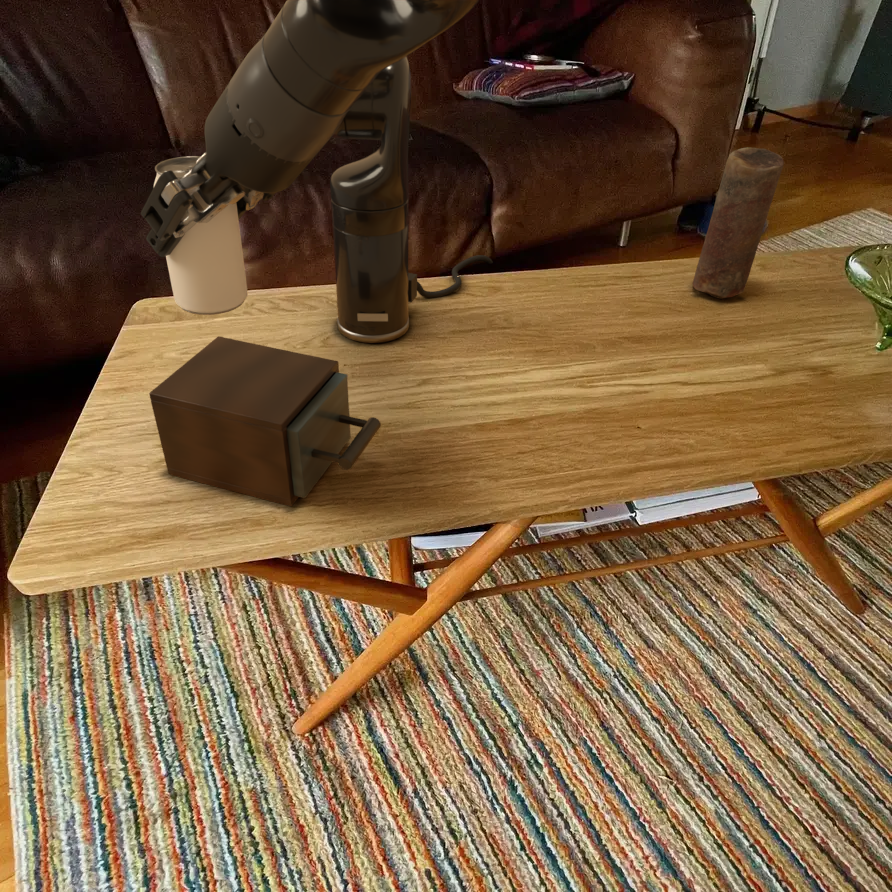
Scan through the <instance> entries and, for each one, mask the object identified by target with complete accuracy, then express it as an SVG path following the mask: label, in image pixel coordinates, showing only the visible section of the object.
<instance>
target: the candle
mask: <svg viewBox="0 0 892 892" xmlns="http://www.w3.org/2000/svg"><path fill="white" fill-rule="evenodd" d="M784 164H785V161H784V158H783V157H782V156H781V155H780V154H778V153H776V152H774V151H771V150H769V149H766V148H757V147H750V146H747V147H743V148H742V147H741V148H739V149H736V150H733V151H731V152H730V153H729V154H728V158H727V159H726V162H725V165H724V169H723V173H722V176H721V180H720V183H719V188H718V192H717V195H716V198H715V202H714V206H713V209H712V213H711V215H710V216H711V217H710V220H709V224H708V228H707V231H706V235H705V239H704V242H703V245H702V248H701V252H700V255H699V258H698V262H697V266H696V270H695V272H694V276H693V281H692V288H693V289H695V290H696V291H699V292H703V293H705V294H707V295H710V296H711V297H712V298H716V299H726V298H733V297H735V296H737V295H740V294H742V293H744V291H745V288H746V286H747V282H748V280H749V277H750V273H751V270H752V266H753V264H754V260H755V257H756V254H757V251H758V247H759V244H760V241H761V238H762V234H763V231H764V228H765V225H766V221H767V218H768V214H769V212H770V209H771V205H772V203H773V199H774V196H775V193H776V189H777V186H778V183H779V180H780V177H781V174H782V171H783V169H784Z"/></svg>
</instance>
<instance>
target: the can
mask: <svg viewBox="0 0 892 892" xmlns="http://www.w3.org/2000/svg"><path fill="white" fill-rule="evenodd" d="M201 156H202V155H201ZM201 156H200V155H199V156H198V155H191V156H190V155H188V156H180V157H173V158H169V159H165V160H162V161H160V162H159V163H157V164H156V165H155V166H154V170H155V172H156V176H155V179H154V182H153V187H154V186H155V184H156V182H157V180H158V178H159V177H160V176H161V175H162V174H163V173H164V172H167V171H170V170H171V171H173V173H174V174H175V175H176V177H177V178H178V179H180V178H183V177H184V176H185V175H186V174H187V173H188V172H189V171H190V170H192V168H193V167H194V165H195V164H196V161H197V160H198V159H199V158H200V157H201ZM193 195H194V197H195V198H196V200H197V201H198V202H199V204H200V205H201V206H202V208H203V209H204V210H205V209H207V208H208V207H209V206H210V205H208V204H206V203H205V202H204V200H203V199H202V197H201V196H200V195H199V193H198V192H197V191H196V192H194V193H193ZM188 215H189V213H188V211H186V213H185V214H184V216H183V218H182V219H181V220H182V221H183V220H185V219H186V218H187V217H188ZM243 251H244V250H243V242H242V236H241V229H240V219H238V212H237V204H236V203H235V204H229V205H228V206H226V207H225V208H224V209H223V210H222V211H221V212H219V213H218V214H217V215H216V216H215V217H214V218H212V219H211V220H210V221H209V222H207V223H196V224H195V225H194V226H193V227H192V228H191V229H189V230H188V231H187V232H186V233H185V235H184V236H183V237H182V239H181V240H180V242H179V243H178V244H177V246H176V247H175V248H174V250H173V251H172V252H171V254H170V255H167V256H165V259H166V264H167V269H168V275H169V280H170V285H171V290H172V295H173V299H174V302H175V304H176V305H177V306H178V307H179V308H180V309H182V310H183V311H185V312H187V313H190V314H195V315H200V316H212V315H219V314H220V315H221V314H225V313H228V312H232V311H234V310H236V309H238V308H239V307H241V306H242V305H243V304H244V302H245V301H246V299H247V298H248V284H247V283H248V282H247V275H246V269H245V268H246V267H245V259H244V252H243Z"/></svg>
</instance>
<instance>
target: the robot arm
mask: <svg viewBox="0 0 892 892" xmlns="http://www.w3.org/2000/svg"><path fill="white" fill-rule="evenodd" d="M479 2H480V0H286V1H285V3H284V4H283V6H282V7H281V9H280V11H279V12H278V14H277V15H276V16H275V18H274V20H273V21H272V23H271V24H270V26H269V28H268V29H267V31H266V32H265V34H264V35H263V36H262V37H261V38H260V39H259V41H258V42H257V43H256V44H255V45H254V46H253V47H252V48H251V49H250V50H249V52H248V53H247V54H246V56H245V57H244V59H243V60H242V61H241V62H240V65H239V66H238V68H237V70H236V71H235V72H234V74H233V76H232V77H231V78H230V81H229V82H228V83H227V85H226V87H225V89H224V90H223V91H222V93H221V95H220V96H219V98H218V99H217V100H216V102H215V104H213V105H214V106H213V107H212V108H211V110H210V112H209V113H208V115H207V117H206V119H205V123H204V140H205V152H204V153H203V154H202V155H201V157H200V158H199V159H198V160H197V161H196V164H195V165H194V167H193V168H192V170H190V171H189V172H188V173H187V174H186V175H185V176H184V177H183V178H180V179H178V178H177V177H176V175H175V174H174V173H173V171H171V170H170V171H167V172H164V173H163V174H162V175H161V176H160V177H159V178H158V180H157V182H156V184H155V186H154V185H153V188H152V189H151V192H150V194H149V196H148V198H147V200H146V202H145V204H144V205H143V207H142V210H141V211H140V216H142V219H144V220H145V221H146V222H147V224H148V225H149V227H150V230H149V231H148V233H147V235H146V239H145V240H146V242H147V243H148V244H149V245H150V247H151V249H152V250H154V252H155V254H157V255H158V256H159V257H160V258H166V256H167V255H170V254H171V252H172V251H173V250H174V248H175V247H176V246H177V244H178V243H179V242H180V240H181V239H182V237H183V236H184V235H185V233H186V232H187V231H188V230H189V229H191V228H192V227H193V226H194V225H195V224H196V223H207V222H209V221H210V220H211V219H212V218H214V217H215V216H216V215H217V214H218V213H219V212H221V211H222V210H223V209H224V208H225V207H226V206H228V205H229V204H235V203H236V204H237V212H238V219H239V220H240V219H241V218H242V216H243V215H244V214H245V213H246V211H249V210H252V209H254V208H255V207H256V206H257V205H258V202H259V201H261V200H263V201H265V202H266V201H269V200H271V199H272V198H274V196H275V195H276V193H280V192H283V191H285V190H286V189H288V188H289V187H291V185H293V183H294V182H295V181H296V180H297V178H298V177H299V176H300V175H301V174H302V172H303V171H305V169H306V168H307V166H308V165H309V164H310V163H311V162H312V161H313V159H314V158H315V157H316V156H317V155H318V154H319V153H320V151H321V150H322V149H323V148H324V146H326V144H327V143H328V142H329V141H330V139H331V138H334V139H340V140H341V139H343V140H366V141H367V140H368V141H380V144H381V145H380V147H378V149H377V150H375V151H374V152H372V153H371V154H370V155H368V156H366V157H363V158H361V159H359V160H356V161H352V162H349V163H346V164H344V165H342V166H340V167H338V168H337V169H336V170H334V171H333V172H332V174H331V176H330V180H329V188H330V189H329V190H330V205H331V207H330V208H331V222H332V238H333V239H332V240H333V254H334V270H335V271H334V272H335V273H334V274H335V289H336V306H337V330H338V332H340V334H341V335H342V336H344V337H345V338H347V339H349V340H352V341H354V342H355V341H356V342H360V343H368V344H377V343H378V344H379V343H385V342H386V343H387V342H390V341H395V340H396V339H398V338H401V337H402V336H404V335H405V334H406V333H407V332H408V330H409V327H410V317H409V303H413V301H414V300H415V299H416V298H417V297H418V294H419V295H420V296H421V297H423V298H428V299H429V298H430V299H434V298H440V297H445V296H448V295H450V294H453V293H454V292H456V291H457V290H459V289H460V288H461V286H462V279H461V276H460V275H459V273H458V272H459V271H461V270H462V269H463V268H465V267H467V266H468V265H470V264H473V263H476V262H484V263H486V264H487V265H491V264H493V263H494V262H493V260H492V258H490V257H489V256H487V255H484V254H477V255H473V256H470V257H468V258H466V259H464V260H462V261H461V262H458V263H457V264H456V265H455V266H454V267H453V268H452V269H451V276H452V278H453V280H454V284H452V285H450V286H448V287H446V288H444V289H441V290H435V291H429V290H425V289H424V287H423V286H422V284H421V282H419V281H418V274H417V273H412V272H411V273H410V272H409V142H410V141H409V139H410V122H411V121H410V120H411V106H412V105H411V103H412V76H411V75H412V74H411V73H412V72H411V68H410V67H411V66H410V63H409V60H408V56H409V55H411V54H412V53H414V52H415V51H417V50H418V49H420V48H421V47H423V46H424V45H426V44H428V43H429V42H430V41H432V40H433V39H435V38H437V37H438V36H439V35H440V36H441V34H443V33H444V32H446V31H447V30H448V29H450V28H451V27H453V26H454V25H455V24H457V23H458V22H459V21H461V20H462V19H463V18H464V17H466V15H467V14H469V13H470V12H471V11H472V10H473V9H474V7H476V5H477V4H478V3H479ZM196 191H197V192H198V193H199V195H200V196H201V197H202V199H203V200H204V202H205V203H206V204H208V205H210V206H209V207H208V208H207V209H205V210H204V209H203V208H202V206H201V205H200V204H199V202H198V201H197V200H196V198H195V197H194V195H193V193H194V192H196ZM186 211H188V213H189V215H188V217H187V218H186V219H185V220H183V221H182V220H181V219H182V218H183V216H184V214H185V213H186ZM457 276H459V277H457Z"/></svg>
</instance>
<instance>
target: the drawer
mask: <svg viewBox="0 0 892 892" xmlns="http://www.w3.org/2000/svg"><path fill="white" fill-rule="evenodd" d="M348 384H349V382H348V374H346V373H342V372H339V373H338V372H336V373H335V374H334V376H333V377H332V378H331V379H330V380H329V381H328V382H327V384H326V385H325V386H324V387H323V388H322V387H321V388H320V389H319V390H318V392H317V393H316V394H315V395H314V396H313V397H312V398H311V399H310V401H309V402H308V403H307V404H306V405H305V406H304V407H303V408H302V410H301V411H300V412H299V413H298V414H297V415H296V416H295V417H294V419H293V420H292V421H291V422H290V423H289V424H288V425H287V439H288V447H289V456H290V464H291V473H292V482H293V490H294V495H295V496H298V498H303V499H306V498H307V497H308V495H309V494H310V492H311V491H312V490H313V488H314V487H315V485H316V484H317V483H318V482H319V480H320V479H321V478H322V476H323V475H324V474H325V472H326V471H327V470H328V469H329V467H330V466H331V464H332V463H336V464H338V467H340V468H341V469H342V470H344V471H349V470H351V469H352V468H353V466H354V465H355V464H356V462H357V461H358V460H359V458H360V456H361V455H362V454H363V452H364V451H365V450H366V448H367V447H368V445H369V444H370V443H371V441H372V439H373V438H374V437H375V435H376V434H377V432H379V430H380V428H381V427H382V424H381V421H380V419H379V418H377V417H373V416H372V417H369V418H368V419H367V420H366V419H364V418H363V419H362V418H358V417H354V416H350V403H349V402H350V401H349V385H348ZM351 426H354V427H359V428H360V430H359V431H358V433H357V434H356V435H355V437H354V438H353V439H352V441H351V442H350V443H349V445H348V446H347V447H346V449H345V450H344V451H343V453H342V454H339V453H340V452H341V451H342V450H343V448H344V447H345V446H346V444H347V443H348V442H349V440H350V439H351Z"/></svg>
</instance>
